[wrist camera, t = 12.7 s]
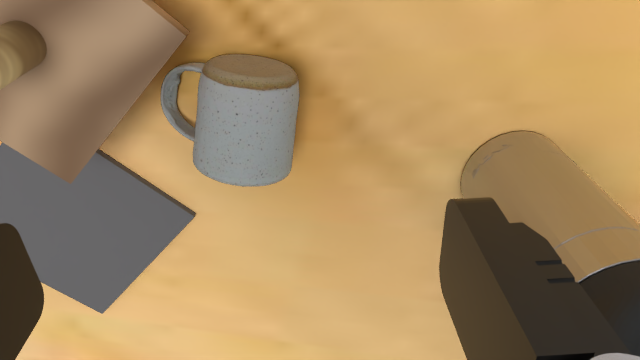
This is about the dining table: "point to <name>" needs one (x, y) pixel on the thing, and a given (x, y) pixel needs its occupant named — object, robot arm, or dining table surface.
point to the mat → (87, 224)
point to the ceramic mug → (239, 118)
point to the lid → (76, 73)
